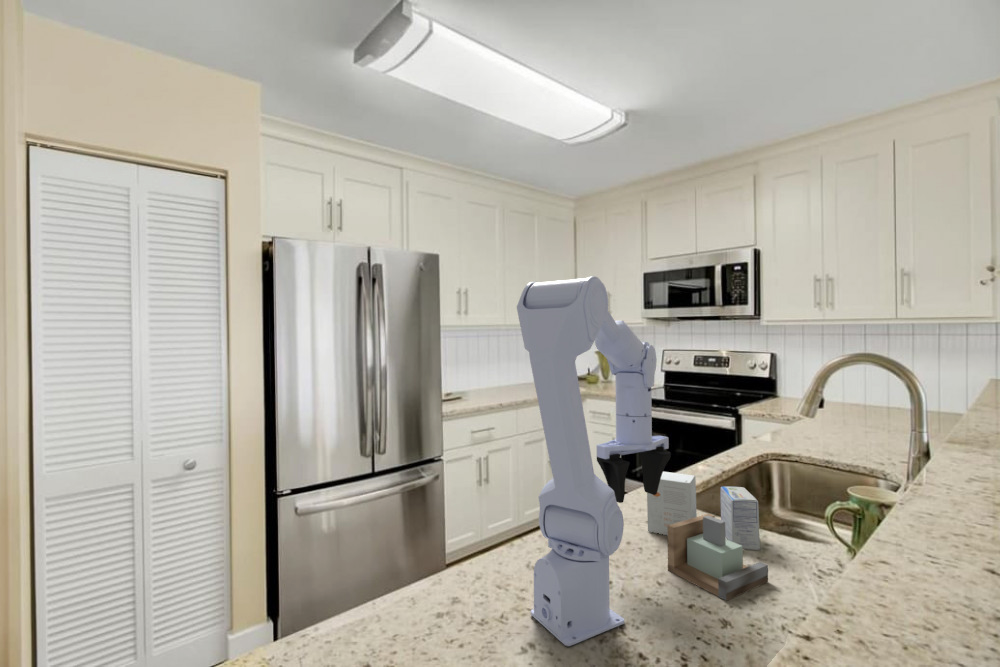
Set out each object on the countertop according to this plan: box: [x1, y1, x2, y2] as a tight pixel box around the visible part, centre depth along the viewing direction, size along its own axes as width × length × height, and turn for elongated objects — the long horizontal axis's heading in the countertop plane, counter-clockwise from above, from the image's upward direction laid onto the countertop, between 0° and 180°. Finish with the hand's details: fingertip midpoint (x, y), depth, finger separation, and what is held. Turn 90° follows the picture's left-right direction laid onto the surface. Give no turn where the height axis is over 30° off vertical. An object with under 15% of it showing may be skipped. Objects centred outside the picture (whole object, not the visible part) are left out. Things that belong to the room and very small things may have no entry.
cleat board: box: [667, 513, 769, 601], centre depth 72 cm, size 10×10×7 cm
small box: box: [646, 471, 698, 537], centre depth 89 cm, size 8×6×10 cm
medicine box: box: [719, 486, 761, 551], centre depth 84 cm, size 8×4×9 cm, turn 168°
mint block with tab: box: [687, 516, 744, 579], centre depth 72 cm, size 5×6×8 cm
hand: (634, 496), depth 77 cm, fingers open, 7 cm apart
